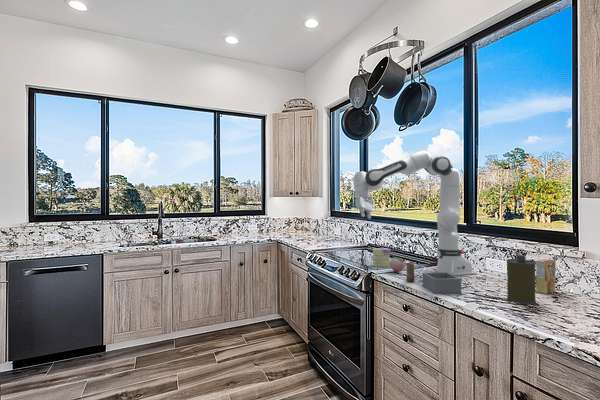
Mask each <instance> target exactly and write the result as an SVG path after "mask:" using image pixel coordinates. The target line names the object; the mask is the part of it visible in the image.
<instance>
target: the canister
mask: <svg viewBox="0 0 600 400" xmlns="http://www.w3.org/2000/svg"><path fill="white" fill-rule="evenodd" d="M506 264H507V265H506V267H507V268H506V270H507V272H506V273H507V275H506V277H507V278H506V279H507V282H506V283H507V297H506V299H507V300H509V301H510V302H513V303H515V304H516V303H517V304H522V305H535V304H536V303H537V300H536V261H532V260H528V259H527V257H526V255H525V254H516V256H515V258H510V259H509V258H508V259H506Z"/></svg>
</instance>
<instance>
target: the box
mask: <svg viewBox="0 0 600 400" xmlns="http://www.w3.org/2000/svg"><path fill="white" fill-rule="evenodd" d="M390 257H391V256H390V249H389V247H388V248H386V247H384V248H382V247H379V248H378V247H377V248H375V247H373V248H372V266H373V267H375V268H376V267H379V268H380V267H382V268H385V267H386V268H391V267H390V261H391V259H390Z"/></svg>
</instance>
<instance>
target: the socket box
mask: <svg viewBox="0 0 600 400" xmlns="http://www.w3.org/2000/svg"><path fill="white" fill-rule="evenodd" d="M422 287H423V288H425V289H426V290H428V291H430V292H431V293H432V294H434V295H439V294H440V295H442V294H443V295H444V294H446V295H447V294H449V295H450V294H462V278H461V277H458V276H457V275H452V274H450V273H448V272H437V271H436V272H422Z"/></svg>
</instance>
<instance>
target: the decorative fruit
mask: <svg viewBox="0 0 600 400" xmlns="http://www.w3.org/2000/svg"><path fill="white" fill-rule="evenodd" d="M405 266H406V262H405V260H404V259H402V258H401V257H397V256H394V257H391V259H390V267H389V268H390V269H391V270H393V272H396V273H399V272H401V271H403V270H404V269H405V268H406V267H405Z"/></svg>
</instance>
